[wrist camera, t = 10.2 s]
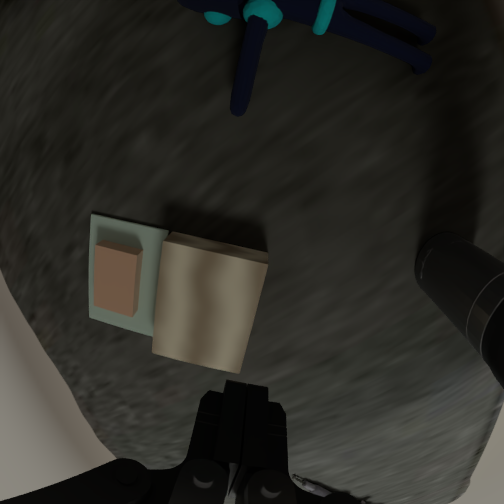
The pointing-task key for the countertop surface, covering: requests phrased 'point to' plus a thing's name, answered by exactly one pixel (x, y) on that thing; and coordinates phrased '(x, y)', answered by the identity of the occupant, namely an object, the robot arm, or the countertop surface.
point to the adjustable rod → (316, 488)
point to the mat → (152, 249)
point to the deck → (206, 300)
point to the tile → (117, 277)
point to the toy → (321, 19)
